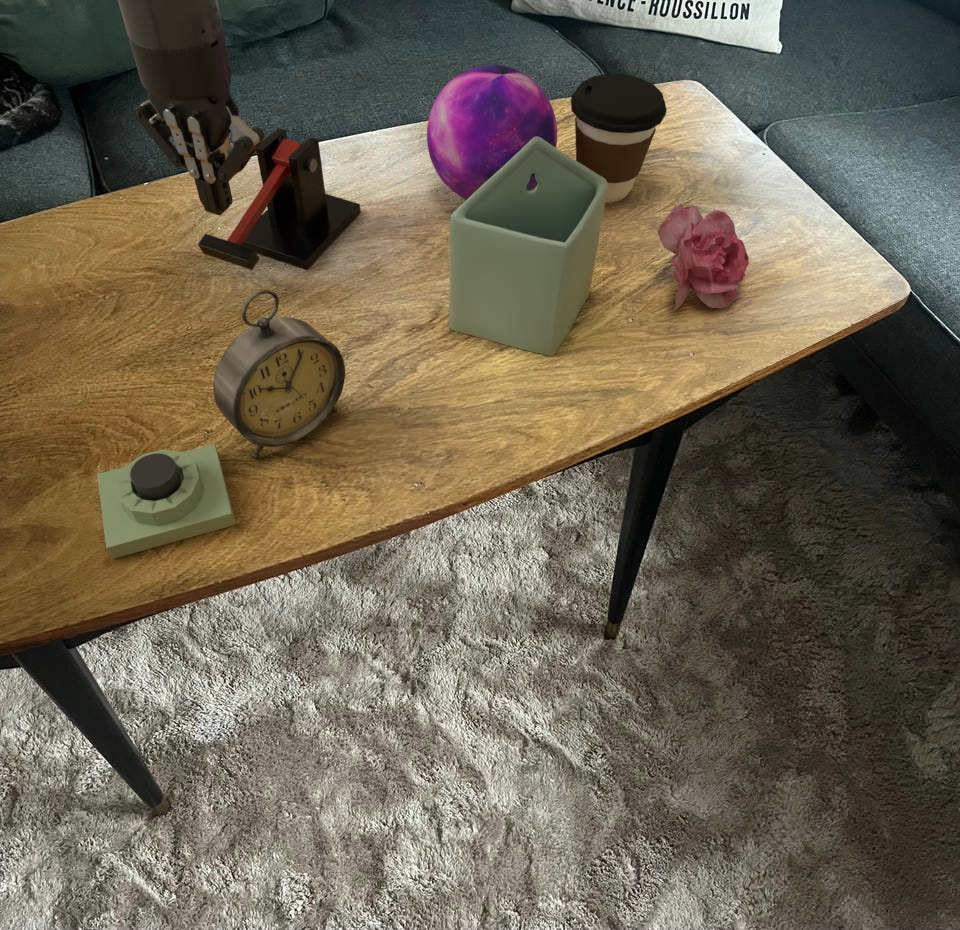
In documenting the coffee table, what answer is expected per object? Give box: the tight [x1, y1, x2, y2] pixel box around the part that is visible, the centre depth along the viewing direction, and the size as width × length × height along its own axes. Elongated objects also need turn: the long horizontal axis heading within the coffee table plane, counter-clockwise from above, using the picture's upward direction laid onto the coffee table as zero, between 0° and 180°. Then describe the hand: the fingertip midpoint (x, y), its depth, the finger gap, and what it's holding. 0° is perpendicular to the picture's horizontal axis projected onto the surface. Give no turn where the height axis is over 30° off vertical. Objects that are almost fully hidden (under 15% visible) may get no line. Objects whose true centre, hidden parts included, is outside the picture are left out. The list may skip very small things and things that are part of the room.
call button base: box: [96, 443, 237, 560], centre depth 70 cm, size 10×8×4 cm
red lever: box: [197, 138, 303, 271], centre depth 87 cm, size 15×6×2 cm, turn 156°
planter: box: [448, 137, 608, 357], centre depth 78 cm, size 16×8×20 cm, turn 113°
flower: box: [650, 203, 750, 312], centre depth 89 cm, size 11×10×10 cm
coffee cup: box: [570, 73, 668, 203], centre depth 98 cm, size 11×11×12 cm
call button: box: [130, 453, 181, 501], centre depth 68 cm, size 4×4×2 cm
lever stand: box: [242, 127, 361, 271], centre depth 92 cm, size 12×9×11 cm
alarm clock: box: [212, 288, 346, 460], centre depth 71 cm, size 11×5×16 cm, turn 131°
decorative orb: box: [426, 64, 558, 200], centre depth 96 cm, size 15×15×15 cm
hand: (218, 209), depth 81 cm, fingers closed
